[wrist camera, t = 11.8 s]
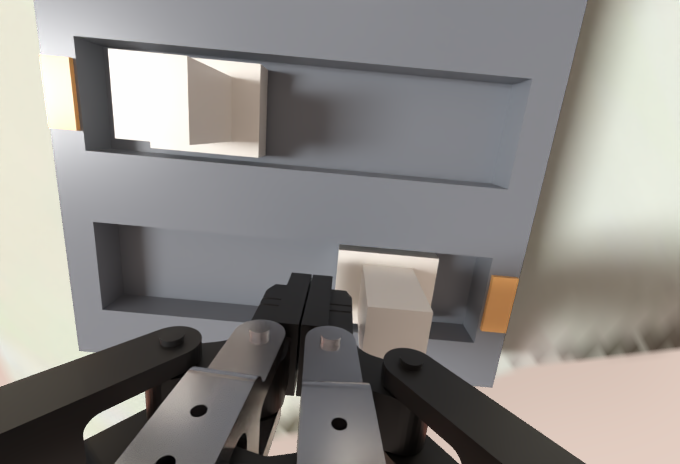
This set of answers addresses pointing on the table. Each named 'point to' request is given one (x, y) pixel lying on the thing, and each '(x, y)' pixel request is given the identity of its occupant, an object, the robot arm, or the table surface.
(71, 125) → the switch bank
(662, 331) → the table surface
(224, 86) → the tab
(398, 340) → the tab
